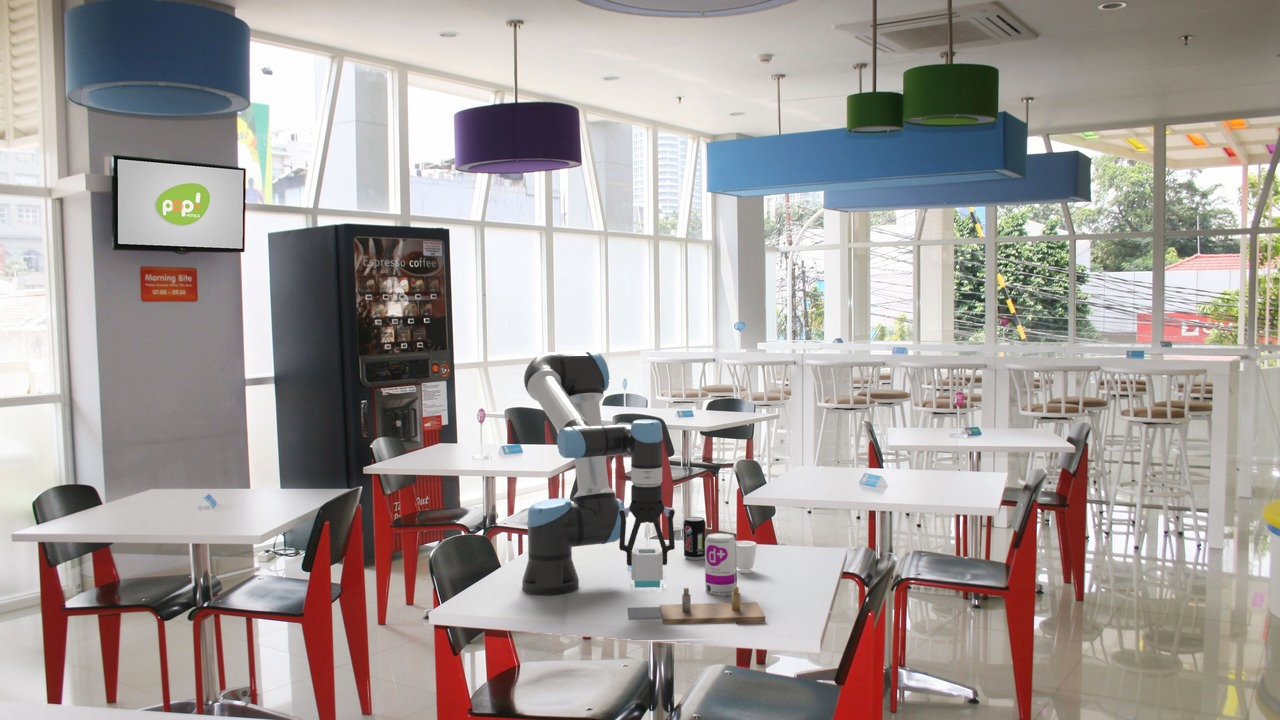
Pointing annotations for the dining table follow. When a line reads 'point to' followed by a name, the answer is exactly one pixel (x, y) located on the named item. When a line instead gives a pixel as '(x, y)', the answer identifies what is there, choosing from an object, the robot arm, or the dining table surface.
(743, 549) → the cup
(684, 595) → the pinboard
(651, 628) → the dining table surface
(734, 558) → the supplement can
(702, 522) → the beverage can
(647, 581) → the sleeve
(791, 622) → the dining table surface
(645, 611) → the mat
